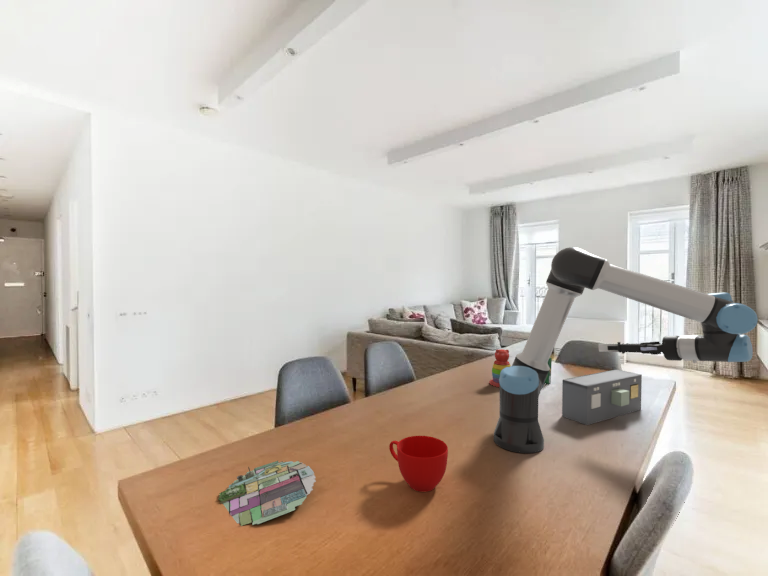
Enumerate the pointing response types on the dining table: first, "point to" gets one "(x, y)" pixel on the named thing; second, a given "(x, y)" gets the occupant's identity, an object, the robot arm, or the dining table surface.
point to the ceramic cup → (421, 461)
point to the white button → (595, 400)
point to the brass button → (633, 391)
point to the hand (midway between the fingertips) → (599, 347)
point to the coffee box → (548, 378)
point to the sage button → (619, 397)
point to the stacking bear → (499, 365)
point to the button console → (582, 387)
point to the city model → (268, 491)
